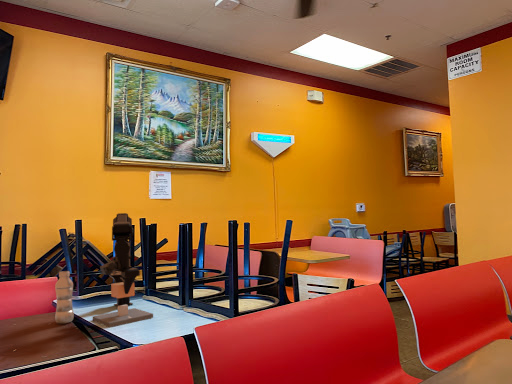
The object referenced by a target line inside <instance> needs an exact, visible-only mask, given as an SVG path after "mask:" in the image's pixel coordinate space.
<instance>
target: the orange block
mask: <svg viewBox="0 0 512 384" xmlns="http://www.w3.org/2000/svg"><path fill="white" fill-rule="evenodd" d="M110 285H111V286H110V293H111V295H110V296H111V297H112V298H116V299H117V298H123V297H129V296H130V297H134V296H135V282H134V283H133V284H132V286H131V288H130V290H129V293H128V294H125V291H124V283H123V282H121V283H114V282H113V283H111V284H110Z"/></svg>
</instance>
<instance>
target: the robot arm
mask: <svg viewBox="0 0 512 384" xmlns="http://www.w3.org/2000/svg"><path fill="white" fill-rule="evenodd" d="M132 220H133V219H132V218H131V217H130V216H129V213H126V212H125V213H124V212H123V213H122V212H121V213H117V214H116V217H114V218H113V219H112V227H111V241H112V242H113V241H115V242H114V248H113V250H114V256H113V257H112V258H111V259H112V260H111V261H109V262H107V263H104V264H103V265H100V266H99V268H100V271H101V274H102V275H105V276H107V275H108V276H109V277H110V278H111V279H112V280H113V284H114V283H121V282H123V283H124V291H125V294H128V293H129V290H130V288H131V286H132V284H133V283H134V284H135V280H136V278H137V277H140V276H141V271H140V269H139V268H136V267H132V266H133V265H132V266H131V259H132V258H133V257H132V255H131V254H130V250H131V246H130V244H131V243H130V241H131V240H133V238H134V228H133V221H132ZM130 297H131V296H129V297H123V298H116V303H114V304H113V305H114V306H115V307H116V306H117V307H118V306H121V305H128V306H132V305H134V304H133V303H132V302H131V301H130Z"/></svg>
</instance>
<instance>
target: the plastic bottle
mask: <svg viewBox="0 0 512 384" xmlns="http://www.w3.org/2000/svg"><path fill="white" fill-rule="evenodd" d="M70 276H71V274H70V271H69V270H65V271H64V270H63V271H59V272H58V277H59V278H58V280H57V281H56V282H55V286H54V287H55V290H54V291H55V295H56V310H55V314H54V315H55V316H54V319H55V320H54V321H55V322H56V323H57V324H67V323H70V322H72V321H73V320H74V317H75V314H74V313H75V312H74V308H73V290H74V282H73V281H72V279H71V277H70Z"/></svg>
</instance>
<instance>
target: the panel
mask: <svg viewBox="0 0 512 384" xmlns="http://www.w3.org/2000/svg"><path fill="white" fill-rule="evenodd" d="M153 318H154V313H152V312H149V311H145V310H142V309H138V308H135V307H134V308H129V305H121V306H117V311H115V312H108V313H102V314H99V315H94V316H93V315H92V321H93V322H95V323H99V324H101V325H103V326H105V327H108V328H113V327H116V326H121V325H125V324H126V323H127V324H130V323H135V322H139V321H144V320H149V319H153Z"/></svg>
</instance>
